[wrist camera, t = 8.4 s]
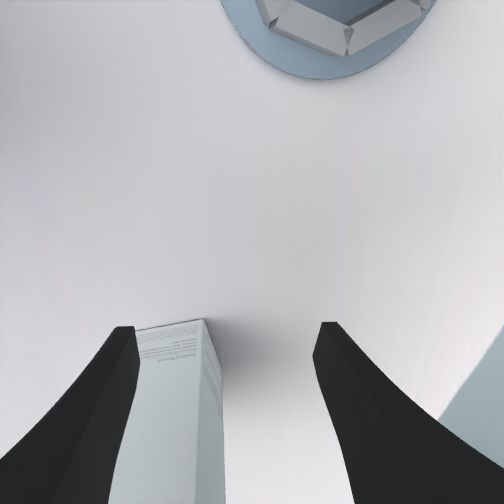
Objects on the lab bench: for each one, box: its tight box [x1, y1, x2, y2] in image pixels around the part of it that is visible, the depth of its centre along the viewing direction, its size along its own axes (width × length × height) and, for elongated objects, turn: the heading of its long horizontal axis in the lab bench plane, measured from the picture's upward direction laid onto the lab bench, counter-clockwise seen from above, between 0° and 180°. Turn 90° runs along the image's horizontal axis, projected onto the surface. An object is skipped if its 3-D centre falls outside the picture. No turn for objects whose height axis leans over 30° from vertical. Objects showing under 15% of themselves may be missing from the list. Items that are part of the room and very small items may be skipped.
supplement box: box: [108, 319, 226, 504], centre depth 21 cm, size 7×7×13 cm
